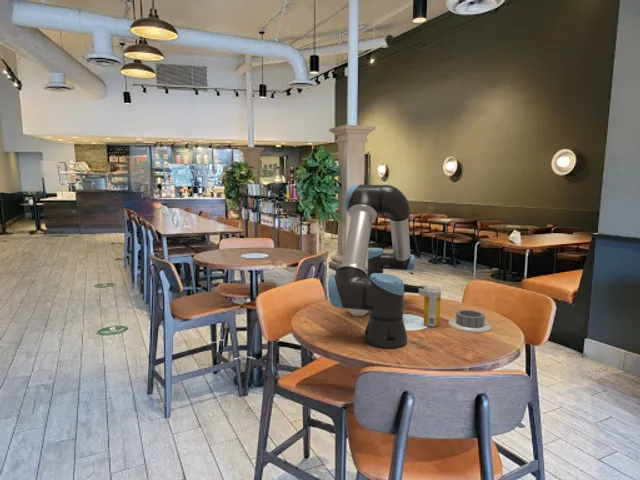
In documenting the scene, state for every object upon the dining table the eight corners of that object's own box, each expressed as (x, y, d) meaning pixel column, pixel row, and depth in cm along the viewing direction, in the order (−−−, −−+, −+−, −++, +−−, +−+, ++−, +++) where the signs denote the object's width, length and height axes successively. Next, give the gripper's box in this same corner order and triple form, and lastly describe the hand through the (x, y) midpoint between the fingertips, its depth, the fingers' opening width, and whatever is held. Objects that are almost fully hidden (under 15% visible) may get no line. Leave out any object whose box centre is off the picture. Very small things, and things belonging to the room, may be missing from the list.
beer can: (437, 322, 170) (439, 286, 168) (440, 327, 164) (442, 289, 162) (422, 322, 170) (423, 285, 168) (424, 327, 164) (426, 289, 162)
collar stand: (483, 335, 155) (484, 322, 155) (442, 326, 165) (442, 314, 165) (497, 324, 168) (497, 313, 167) (457, 316, 178) (458, 305, 177)
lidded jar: (372, 318, 175) (372, 296, 174) (346, 317, 175) (346, 295, 174) (369, 310, 185) (370, 289, 184) (345, 310, 186) (345, 289, 184)
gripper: (408, 290, 199) (439, 301, 180) (363, 296, 189) (391, 309, 170) (408, 275, 198) (440, 284, 179) (363, 280, 188) (391, 290, 169)
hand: (416, 296), depth 175 cm, fingers open, 13 cm apart
